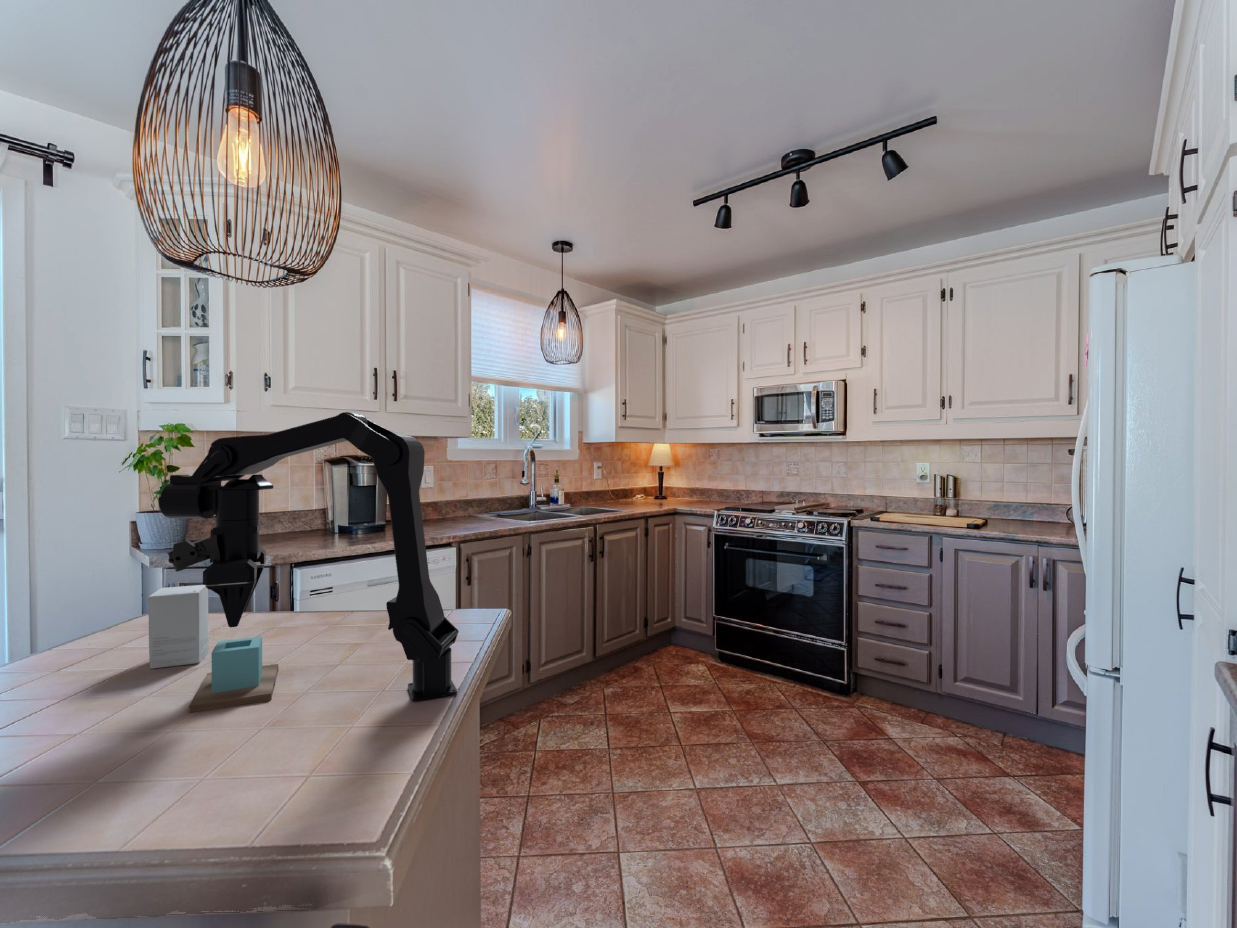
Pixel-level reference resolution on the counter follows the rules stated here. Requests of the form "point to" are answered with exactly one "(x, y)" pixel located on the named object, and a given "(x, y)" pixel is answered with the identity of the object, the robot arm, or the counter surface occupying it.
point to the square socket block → (236, 664)
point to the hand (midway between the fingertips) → (237, 619)
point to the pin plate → (234, 692)
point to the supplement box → (178, 626)
